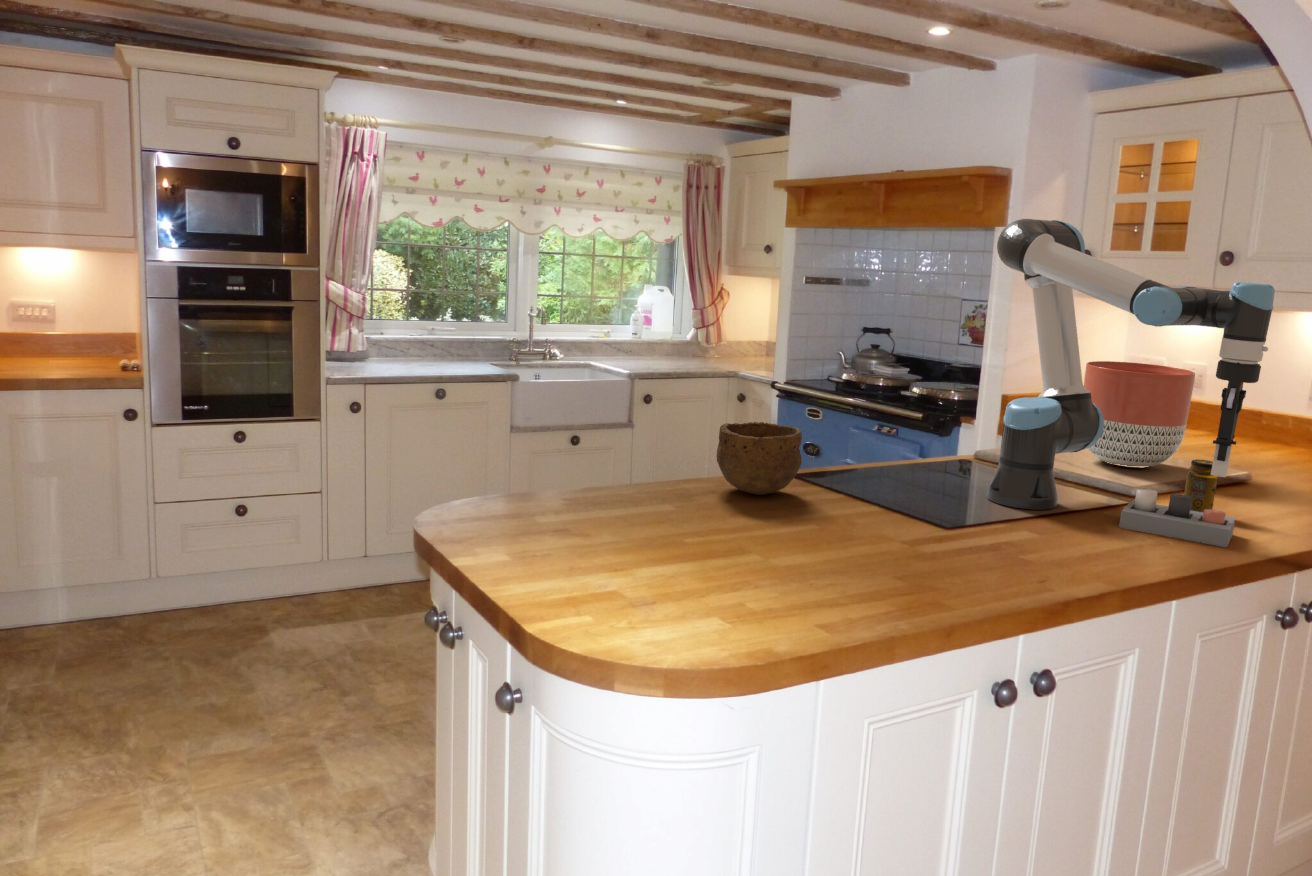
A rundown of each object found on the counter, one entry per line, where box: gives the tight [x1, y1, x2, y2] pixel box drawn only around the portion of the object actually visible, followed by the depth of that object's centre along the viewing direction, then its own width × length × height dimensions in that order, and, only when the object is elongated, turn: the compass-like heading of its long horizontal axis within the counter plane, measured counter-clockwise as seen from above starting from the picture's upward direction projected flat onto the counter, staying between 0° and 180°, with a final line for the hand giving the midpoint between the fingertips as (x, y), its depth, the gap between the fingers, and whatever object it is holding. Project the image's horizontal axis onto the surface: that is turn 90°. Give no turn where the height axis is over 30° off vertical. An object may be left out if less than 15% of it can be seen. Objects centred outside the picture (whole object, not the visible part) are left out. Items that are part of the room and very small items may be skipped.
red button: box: [1202, 508, 1227, 525], centre depth 207 cm, size 4×4×4 cm
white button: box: [1134, 487, 1158, 512], centre depth 214 cm, size 4×4×4 cm
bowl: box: [716, 421, 803, 496], centre depth 224 cm, size 19×19×15 cm
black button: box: [1168, 493, 1192, 518], centre depth 210 cm, size 4×4×4 cm
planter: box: [1083, 360, 1196, 467], centre depth 273 cm, size 27×27×27 cm
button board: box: [1118, 499, 1236, 548], centre depth 211 cm, size 20×12×4 cm, turn 56°
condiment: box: [1183, 459, 1219, 512], centre depth 226 cm, size 7×8×12 cm
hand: (1218, 475), depth 206 cm, fingers closed
